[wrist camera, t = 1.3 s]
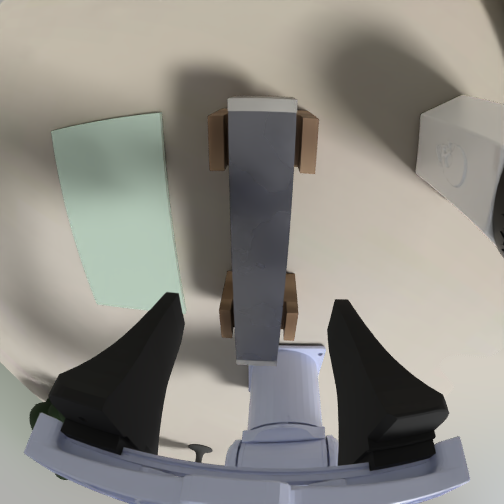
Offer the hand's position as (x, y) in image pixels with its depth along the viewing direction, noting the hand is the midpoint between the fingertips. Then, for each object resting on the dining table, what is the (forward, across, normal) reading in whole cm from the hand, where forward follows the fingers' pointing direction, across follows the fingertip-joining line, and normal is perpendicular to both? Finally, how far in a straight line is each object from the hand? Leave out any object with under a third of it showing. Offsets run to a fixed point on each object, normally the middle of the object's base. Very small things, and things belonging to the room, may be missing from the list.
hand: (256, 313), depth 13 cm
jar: (+10, -15, -7) cm, 19 cm away
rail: (+6, 0, 0) cm, 6 cm away
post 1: (+10, 0, -6) cm, 12 cm away
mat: (+10, +12, +1) cm, 16 cm away
